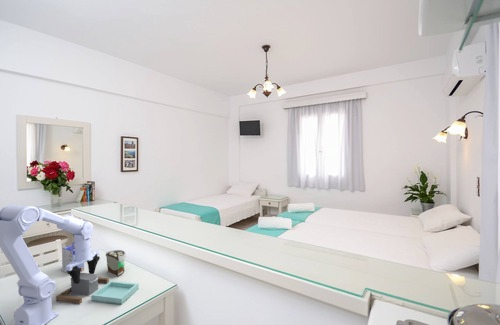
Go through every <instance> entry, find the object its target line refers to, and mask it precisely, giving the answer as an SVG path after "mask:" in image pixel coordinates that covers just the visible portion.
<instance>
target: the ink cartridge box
mask: <svg viewBox="0 0 500 325" xmlns="http://www.w3.org/2000/svg"><path fill="white" fill-rule="evenodd" d="M74 260H75V242H74V241H73V242H72V244H70V245H68V246H64V247H61V262H62V263H61V264H62V265H61V269H62V270H61V271H62V272H65V273H68V272H67V271H66V266H67V265H69V264H70V263H71V262H72V261H74ZM77 267H78V268H82V269H81V272H84V271H85V262H84V263H82V264H80V265H78V266H77ZM68 274H69V273H68Z"/></svg>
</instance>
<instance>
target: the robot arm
mask: <svg viewBox="0 0 500 325" xmlns="http://www.w3.org/2000/svg"><path fill="white" fill-rule="evenodd" d="M41 221H42V222H47V223H50V224H54V225H56V228H57V229H59V230H62V231H66V232H69V233H70V234H72V235H73V242H75V244H74V245H75V260H74V261H72V262H71V263H70V264H69V265H67V266H66V271H67V272H68V274H69V276H70V278H72V280H73V282H74V283H75V284H78V283H79V282H80V273H82V271H81V269H82V268H78V267H77V266H78V265H80V264H82V263H84V264H85V263H87V268H88V273H89V274H95V273H96V272H95V271H96V268H97V265H98V262H99V261H100V259H101V258H100V251H99V250H94V251H92V242H91V240H92V239H91V238H92V233H93V231H94V225H93V223H92V222H91V221H86V220H83V218H77V217H75V216H74V215H73V214H70V213H69V214H65V215H63V216H62V215H59V214H57V213H54V212H52V211H50V210H47V209H45V208H41V207H37V206H34V205H30V206H29V205H17V204H8V205H5V206H4V207H2V208H1V209H0V249H1V251H2V253H3V254H4V255H5V257H6V259H7V262H8V263H9V264H10V265H11V267H12V269H13V270H14V272H15V274H16V275H17V277H18V281H17V282H16V284H17V287H18V290H17V291H18V296H20V297H22V298H23V299H22V300H23V303H22V305H21V306H19V307H18V308H17V309H16V310H15V311H14V313H13V314H14V317H13V318H14V325H46V324H47V323H49V322H50V321H52V320H54V318H56V317H57V316H59V314H60V313H59V312H54V311H53V305H52V304H53V302H52V301H53V300H52V296H53V294H54V292H55V291H56V288H57V283H56V281H55V280H54V279H51V278H50V277H49V275H47V274H46V273H44V272H42V270H41V269H40V267H39V265H38V264H37V262H36V260H35V258H34V256H33V254H32V252H31V251H30V249H29V247H28V246H27V244H26V242H25V240H24V238H23V235H25V234H26V233H27V232H28V230H29V229H31V227H33V225H34V224H35V223H36V222H41ZM67 272H66V273H67Z"/></svg>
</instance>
